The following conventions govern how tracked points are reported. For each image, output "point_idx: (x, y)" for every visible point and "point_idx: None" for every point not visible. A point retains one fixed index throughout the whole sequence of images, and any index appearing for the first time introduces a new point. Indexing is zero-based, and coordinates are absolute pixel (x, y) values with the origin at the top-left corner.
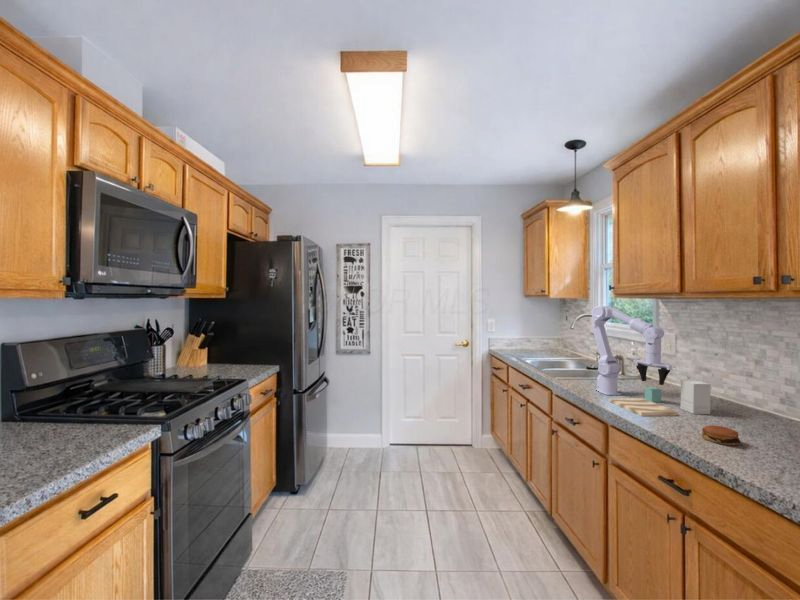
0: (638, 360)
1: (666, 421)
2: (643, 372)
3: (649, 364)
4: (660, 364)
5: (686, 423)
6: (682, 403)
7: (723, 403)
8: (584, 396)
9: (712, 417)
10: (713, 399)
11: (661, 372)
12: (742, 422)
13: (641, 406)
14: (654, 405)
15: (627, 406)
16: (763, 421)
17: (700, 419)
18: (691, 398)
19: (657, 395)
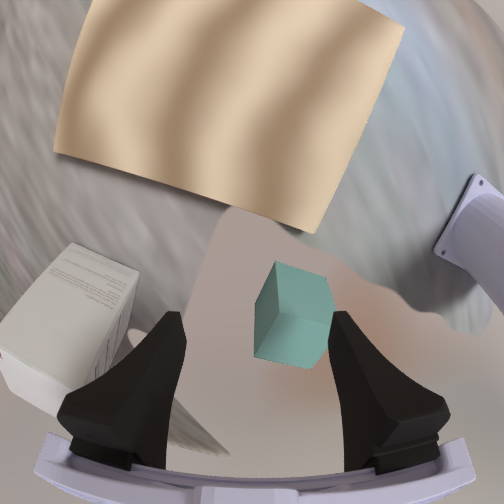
0: (444, 493)
1: (39, 16)
2: (354, 388)
3: (201, 492)
4: (96, 497)
5: (5, 81)
6: (115, 284)
7: (173, 427)
8: (501, 47)
9: (39, 263)
10: (212, 440)
11: (93, 393)
12: (8, 289)
13: (186, 31)
14: (170, 138)
15: None
16: None
17: (21, 191)
18: (43, 285)
19: (263, 313)
